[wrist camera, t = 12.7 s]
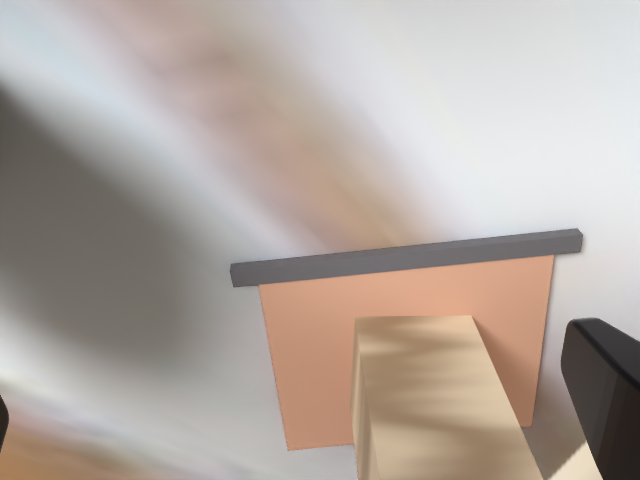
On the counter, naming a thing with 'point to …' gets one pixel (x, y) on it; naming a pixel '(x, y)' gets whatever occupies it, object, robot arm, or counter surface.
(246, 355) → the counter surface
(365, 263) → the mat
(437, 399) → the beech block
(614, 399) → the robot arm
